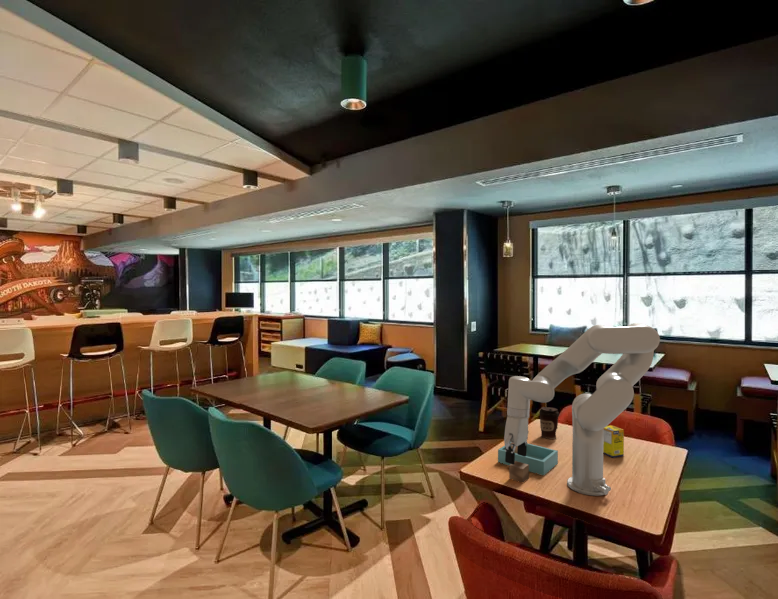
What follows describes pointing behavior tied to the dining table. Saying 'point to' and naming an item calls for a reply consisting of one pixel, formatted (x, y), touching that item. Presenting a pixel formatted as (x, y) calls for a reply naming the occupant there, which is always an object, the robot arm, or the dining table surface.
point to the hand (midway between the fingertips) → (515, 459)
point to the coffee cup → (548, 422)
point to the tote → (534, 458)
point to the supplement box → (613, 441)
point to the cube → (519, 471)
